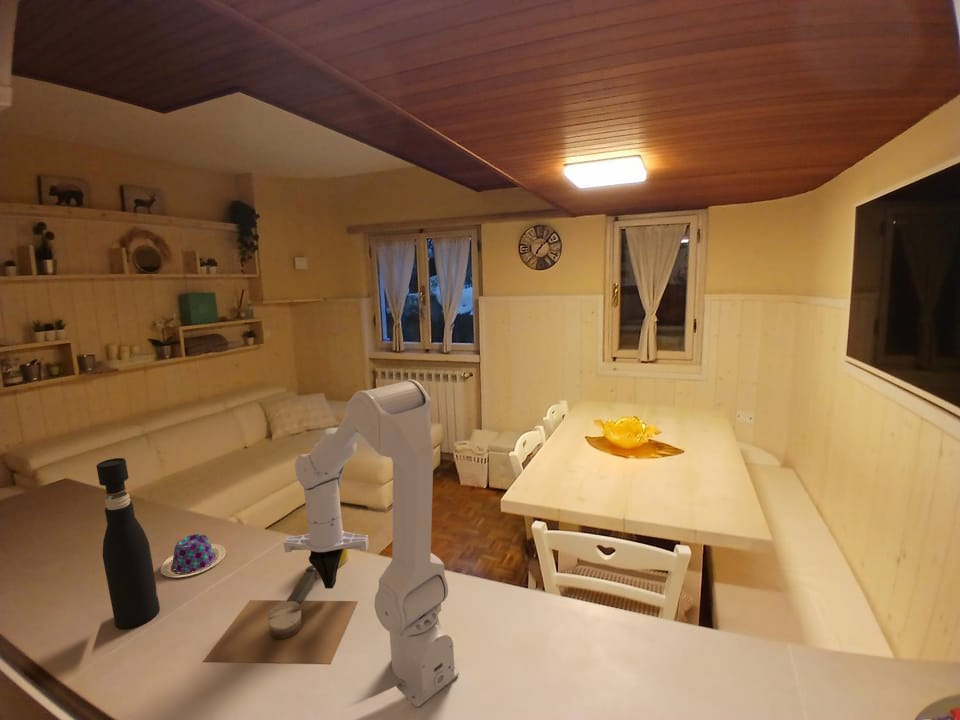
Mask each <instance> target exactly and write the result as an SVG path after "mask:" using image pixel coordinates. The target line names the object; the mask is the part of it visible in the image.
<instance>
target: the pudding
mask: <svg viewBox="0 0 960 720" xmlns="http://www.w3.org/2000/svg"><path fill="white" fill-rule="evenodd" d="M213 548H214V549H215V548H216V549H218V551H219V557H218V560H216V562H215V563H213V561H212V560H214V559H215V557H217V555H216V553H215V552H214V551H213ZM214 553H215V554H214ZM226 553H227V552H226V549H225V546H223V545H220V544H215V543H211V542H210V540H209V538H208V537H207V535H205V534H200V533H196V534H193V535H192V534H191V535H187V536H185V537H184V538H181V539H180V540H178V541H177V543H176V544H175V547H174V551H173V555H171V556H169V557H168V558H166V560H165V561H164V562H163V563H162V565H161V567H160V573H161V574H162V575H164V576H165V577H168V578H184V577H189V576H194V575H197V574H200V573H203V572H205V571H208V570H209V569H211V568H212V567H214V566H216V565H217V564H218V563H220V562H221V561H222V560H223V559H224V557H225V555H226ZM171 560H173V563H172V567H171V569H176V570H175V573H176V572H181V573H180V574H183V573H182V572H184V573H187V572H191V573H192V571H195V570H197V569H198V568H200V569H203V568H202V567H205V566H207V565H208V564H212V563H213V564H212V565H211V566H210V567H208V568H206V569H204V570H202V571H199V569H198V570H197V571H199V572H196V571H195V572H196V573H192V574H188V575H178V576H177V575H173V574H170V573H169V572H168V571H167V569H168V568H167V567H168V566H167V565H168V564H169V562H171ZM210 561H212V563H211V562H210ZM214 561H215V560H214ZM208 566H209V565H208ZM185 571H187V572H185Z"/></svg>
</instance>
